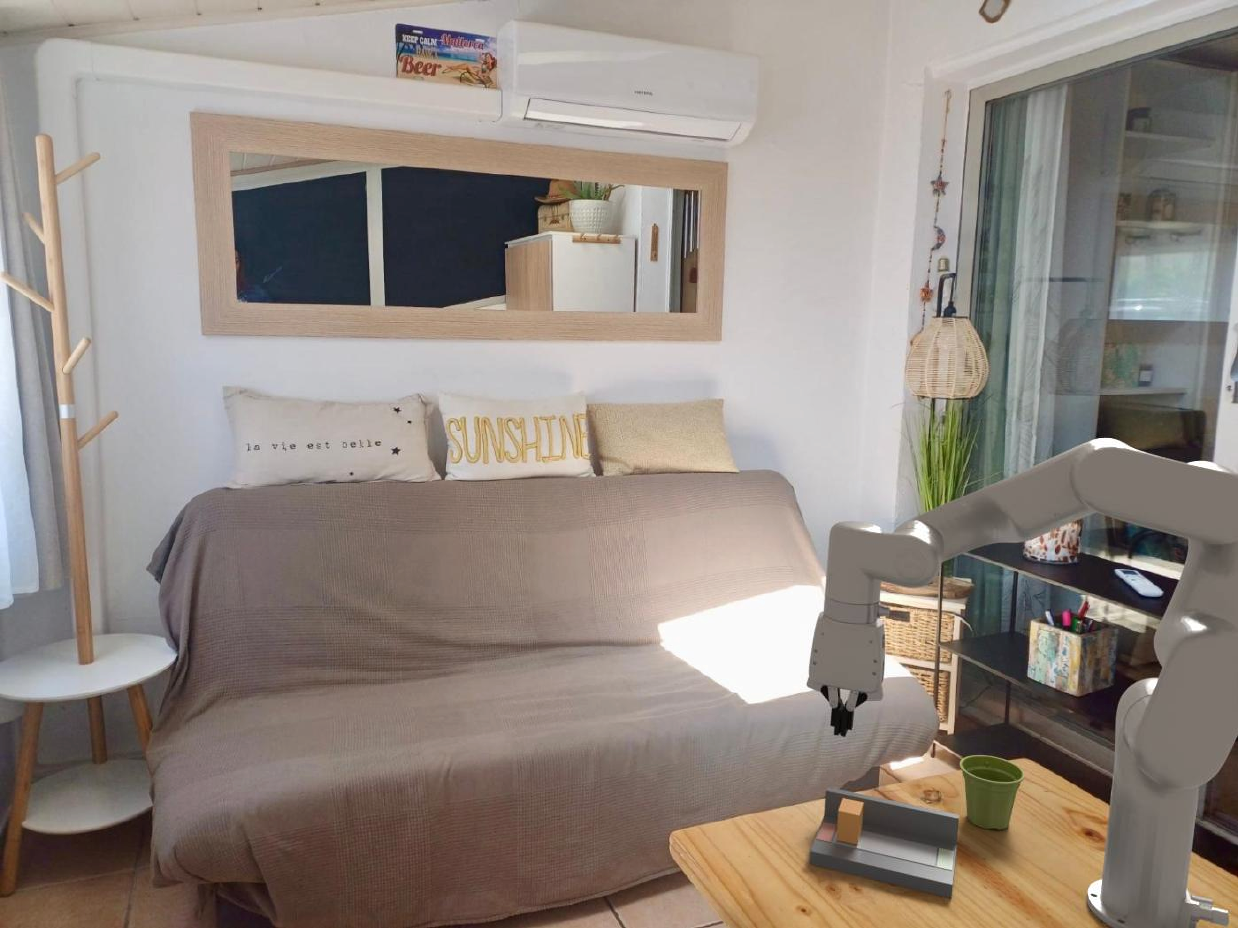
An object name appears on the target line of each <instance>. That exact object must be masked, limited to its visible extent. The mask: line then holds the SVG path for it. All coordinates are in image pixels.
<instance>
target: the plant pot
mask: <svg viewBox="0 0 1238 928" xmlns="http://www.w3.org/2000/svg"><path fill="white" fill-rule="evenodd" d="M959 767H960V770H961V772H962V777H963V778H964V790H965V791H964V792H965V806H966V816H967V817H968V820H969V822H971V824H974V825H975V826H977V827H978V828H979V827H980V828H983V829H985V830H990V829H996V830H997V831H1001V830H1005V829H1007V828H1008V827H1009V826H1010V822H1011V818H1012V817H1011V816H1012V812H1013V809H1014V805H1015V800H1016V797H1017V792H1018V789H1019V788H1020V785H1021V783H1022V782H1023V781H1024V780H1025V776H1026V774H1025V771H1024V770H1023V769H1022V768H1021V767H1020V766H1019V765H1017V764H1016V763H1014V762H1012V761H1009V760H1006V759H1003V758H1001V757H997V756H993V755H984V754H983V755H982V754H979V755H978V754H976V755H975V754H974V755H968V756H966V757H963V758H961V760H960V761H959Z"/></svg>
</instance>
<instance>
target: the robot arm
mask: <svg viewBox="0 0 1238 928" xmlns="http://www.w3.org/2000/svg"><path fill="white" fill-rule="evenodd" d="M1095 513H1098V514H1101V515H1103V516H1106V517H1109V518H1112V519H1115V520H1119V521H1122V522H1125V523H1129V524H1132V525H1136V526H1137V527H1139V526H1140V527H1143V528H1145V529H1146V528H1147V529H1150V530H1155V531H1158V532H1162V533H1164V534H1165V533H1166V534H1169V535H1173V536H1176V537H1180V538H1183V539H1184V538H1185V539H1186V540H1187V541H1188V542H1187V543H1188V544H1187V545H1188V550H1187V555H1186V560H1185V563H1184V565H1183V569H1182V572H1181V574H1180V577H1179V580H1178V582H1177V584H1176V587H1175V589H1174V591H1173V594H1172V597H1171V599H1170V601H1169V604H1168V605H1167V607H1166V610H1165V612H1164V614H1163V616H1162V619H1161V621H1160V622H1159V624H1158V626H1157V629H1156V631H1155V634H1154V636H1153V648H1154V653H1155V656H1156V658H1157V660H1158V662H1159V665H1161V667H1162V668H1161V671H1160V673H1159V676H1158V677H1148V678H1144V679H1140V680H1138V681H1136V682H1135V683H1133V684H1131V685H1130V686H1129V687H1128V688H1127V689H1126V690H1125V691H1124V692H1123V694H1122V695H1121V696H1120V699H1119V701H1118V704H1117V709H1116V715H1115V733H1114V734H1115V735H1114V736H1115V737H1114V738H1115V739H1114V741H1115V742H1114V764H1113V776H1112V784H1111V792H1110V799H1109V800H1110V802H1109V811H1108V819H1107V820H1108V821H1107V829H1106V836H1105V837H1106V839H1105V848H1104V856H1103V857H1104V858H1103V866H1102V875H1101V879H1099V880H1096V881H1093V883H1092V882H1091V884H1090V885H1089V887H1088V888H1087V892H1086V903H1087V905H1088V908H1090V910H1091V911H1092V913H1093V914H1094V915H1095V916H1096V917H1097V918H1098V919H1099V920H1101V921H1102V922H1103V923H1105V924H1106V925H1107V926H1108V927H1110V928H1197V927H1198V923H1199V921H1200V920H1201V921H1204V922H1209V923H1210V924H1216V925H1219V926H1223V927H1228V926H1229V924H1230V923H1229V921H1230V915H1229V910H1228V909H1223V908H1219V907H1215V906H1214V899H1212V898H1208V897H1205V896H1199V895H1198V896H1197V895H1193V894H1192V892H1190V891H1189V889H1188V883H1189V882H1188V881H1189V874H1190V865H1191V858H1192V850H1193V840H1194V833H1195V824H1196V817H1197V812H1198V811H1197V810H1198V801H1199V793H1200V792H1199V791H1200V787H1201V786H1202V785H1206V783H1209V781H1211V780H1212V779H1213V778H1214V777H1215V776H1216V775H1217V774H1218V773H1219V771H1220V770H1221V768H1223V765H1224V764H1225V762H1226V761H1227V758H1228V757H1229V754H1230V752H1231V750H1232V748H1233V746H1234V744H1235V742H1236V739H1237V738H1238V473H1236V472H1235V471H1234V470H1231V469H1230V468H1228V467H1227V466H1224V465H1221V464H1219V463H1216V462H1212V461H1206V460H1197V461H1191V462H1184V461H1181V460H1180V461H1179V460H1175V459H1171V458H1168V457H1167V458H1166V457H1162V456H1159V455H1156V454H1153V453H1148V452H1145V451H1142V450H1139V449H1136V448H1133V447H1132V446H1130V445H1129V444H1127V443H1125V442H1123V441H1121V440H1118V439H1116V438H1115V439H1114V438H1110V437H1109V438H1108V437H1107V438H1106V437H1104V438H1103V437H1102V438H1096V439H1091V440H1089V441H1086V442H1084V443H1081V444H1078V445H1077V446H1075V447H1073V448H1070V449H1068V450H1065V451H1064V452H1061V453H1060V454H1057V455H1055V456H1052V457H1051V458H1049V459H1046V460H1044V461H1041V462H1040V463H1038V464H1035V465H1033V466H1031V467H1029V468H1026V469H1025V470H1024V469H1023V470H1022V471H1019V472H1017V473H1016V474H1013V475H1011V476H1008V477H1006V478H1004V479H1002V480H999V481H998V482H995V483H992V484H990V485H987V486H983V487H982V488H980V489H978V490H976V491H973V492H971V493H969V494H966V495H963V496H961V497H959V498H955V499H953V500H951V501H948V502H946V503H943V504H941V505H939V506H937V507H935V508H932V509H930V510H927V511H926V512H924V513H921V514H919V515H916V516H915V517H912V518H910V519H908V520H907V521H904V522H903V523H901V524H900V525H898V527H896V528H895V529H894V530H893V532H884V531H883V529H882V528H881V527H879V526H878V525H875V524H874V523H869V522H865V521H858V520H857V521H855V520H854V521H853V520H851V521H850V520H847V521H846V520H845V521H839V522H837V523H834V524H833V526H832V527H831V529H830V531H829V536H828V548H827V550H828V551H827V560H826V561H827V564H826V575H825V576H826V577H825V579H826V580H825V588H824V600H823V611H820V612H819V614H818V617H817V621H816V623H815V628H814V632H813V637H812V643H811V649H810V655H809V656H810V658H809V662H808V663H809V664H808V677H807V681H806V684H805V685H806V686H807V688H809V689H811V690H813V691H816V692H819V693H821V695H822V696H823V697H824V698H825V700H826V701H827V702H828V704H829V706H830V708H831V712H830V723H829V724H830V727H833V736H841V738H842V737H843V738H845V737H846V736H847V733H848V731H852V730H853V728H854V727H853V726H854V716H855V709H857V708H858V707H859V706H861V705H862V704H864V703H865V702H868V701H869V702H880V701H883V698H884V689H883V682H884V676H885V666H886V663H885V662H886V633H885V632H886V631H885V624H884V623H885V622H884V620H882V619H881V618H883V617H890V609H891V608H890V607H889V606H885V605H883V603H882V602H881V599H880V598H881V589H882V582H885V583H888V584H891V585H895V586H899V587H902V588H908V589H917V588H918V589H920V588H922V587H925V586H927V585H929V584H931V583H932V582H933V581H934V580H935V579H936V577H938V575H939V573H940V569H941V565H942V564H943V563H944V562H947V561H948V560H950V559H951V560H952V559H953V558H955V557H957V556H960V555H963V554H964V553H967V552H969V551H972V550H975V549H979V548H980V547H985V546H988V545H992V544H998V543H1007V544H1008V543H1009V544H1012V543H1013V544H1018V543H1023V542H1029V541H1032V540H1035V539H1038V538H1039V537H1042V536H1044V535H1047V534H1049V533H1051V532H1053V531H1054V530H1055V531H1056V530H1058V529H1059V528H1062V527H1065V526H1067V525H1068V524H1071V523H1074V522H1077V521H1078V520H1081V519H1084V518H1087V517H1088V516H1091V515H1093V514H1095ZM841 690H846V691H849V694H848V697H847V700H846V701H845V703H844V701H843V699H842V694H841Z"/></svg>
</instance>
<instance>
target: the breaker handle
mask: <svg viewBox="0 0 1238 928" xmlns="http://www.w3.org/2000/svg"><path fill="white" fill-rule="evenodd" d="M863 805H864V802H859V801H854V800H850V799H845V798H843V799H842V802H841V805H840V807H839V810H838V823H837V838H836V840H839V841H843V842H848V843H852V844H856V845H858V842H859V839H860V835H861V832H862V820H863Z"/></svg>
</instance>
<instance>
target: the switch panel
mask: <svg viewBox="0 0 1238 928" xmlns="http://www.w3.org/2000/svg"><path fill="white" fill-rule="evenodd" d="M843 798H845V799H850V800H854V801H859V802H864V805H863V820H862V832H861V835H860V839H859V842H858V845H856V844H852V843H848V842H843V841H839V840H836V838H837V823H838V810H839V807H840V805H841V802H842V799H843ZM824 799H825V800H824V813H823V817H822V820H821V822H820V825H819V828H818V830H817V833H816V836H815V838H814V840H813V843H812V845H811V848H810V851H809V865H811V866H812V865H813V866H815V867H820V868H824V869H828V870H833V871H837V872H841V873H845V874H848V875H852V876H853V875H854V876H858V877H862V878H866V879H869V880H872V881H878V882H881V883H885V884H886V883H887V884H890V885H893V886H898V887H901V888H906V889H911V890H914V891H918V892H923V893H927V894H930V895H935V896H938V897H939V896H940V897H944V898H948V899H952V896H953V888H954V887H953V886H954V876H955V867H956V859H957V858H956V857H957V848H958V847H957V846H958V845H957V844H958V836H959V835H958V833H959V823H960V822H959V821H960V814H957V813H954V812H953V813H952V812H948V811H943V810H940V809H934V808H929V807H926V806H925V807H924V806H919V805H914V804H911V803H905V802H900V801H896V800H891V799H886V798H881V797H876V796H872V795H867V794H862V793H857V792H855V791H849V790H844V789H840V788H836V787H835V788H833V787H828V786H827V787H826V789H825V797H824Z"/></svg>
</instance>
